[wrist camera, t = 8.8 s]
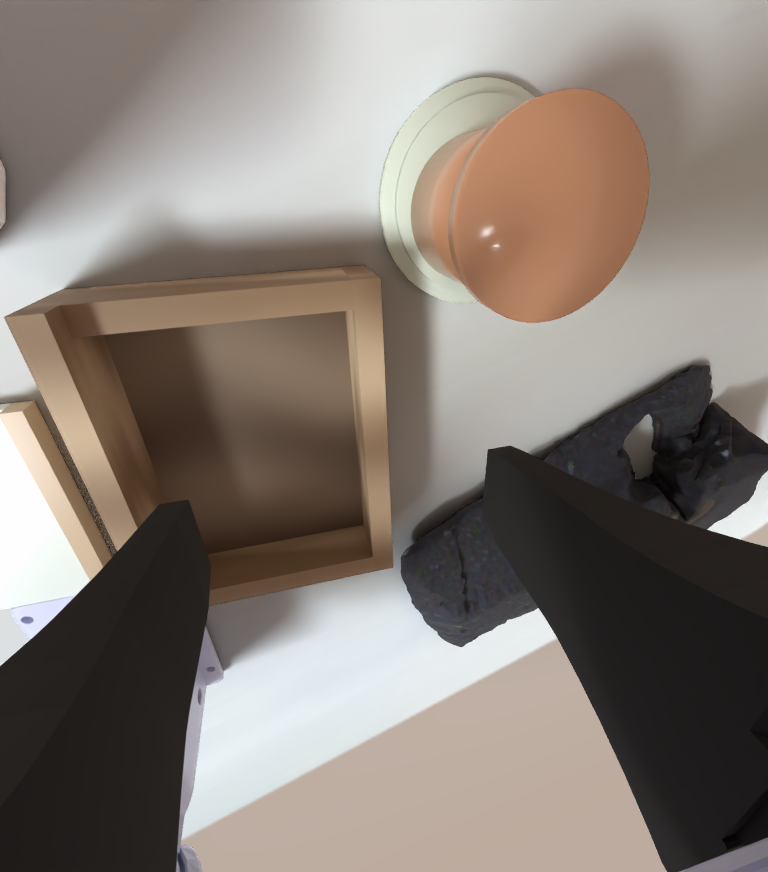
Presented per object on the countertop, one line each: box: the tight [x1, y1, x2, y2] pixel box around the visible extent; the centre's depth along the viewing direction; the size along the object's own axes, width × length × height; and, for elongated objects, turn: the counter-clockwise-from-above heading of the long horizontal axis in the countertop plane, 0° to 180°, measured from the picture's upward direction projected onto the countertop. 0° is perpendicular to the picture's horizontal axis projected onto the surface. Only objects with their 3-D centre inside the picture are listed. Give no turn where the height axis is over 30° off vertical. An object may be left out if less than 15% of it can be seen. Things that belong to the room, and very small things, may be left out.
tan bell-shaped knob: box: [411, 88, 649, 323], centre depth 14 cm, size 6×6×6 cm
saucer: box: [379, 77, 535, 303], centre depth 17 cm, size 8×8×1 cm
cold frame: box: [4, 265, 393, 606], centre depth 18 cm, size 14×11×4 cm
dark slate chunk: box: [401, 366, 768, 647], centre depth 26 cm, size 15×22×5 cm
